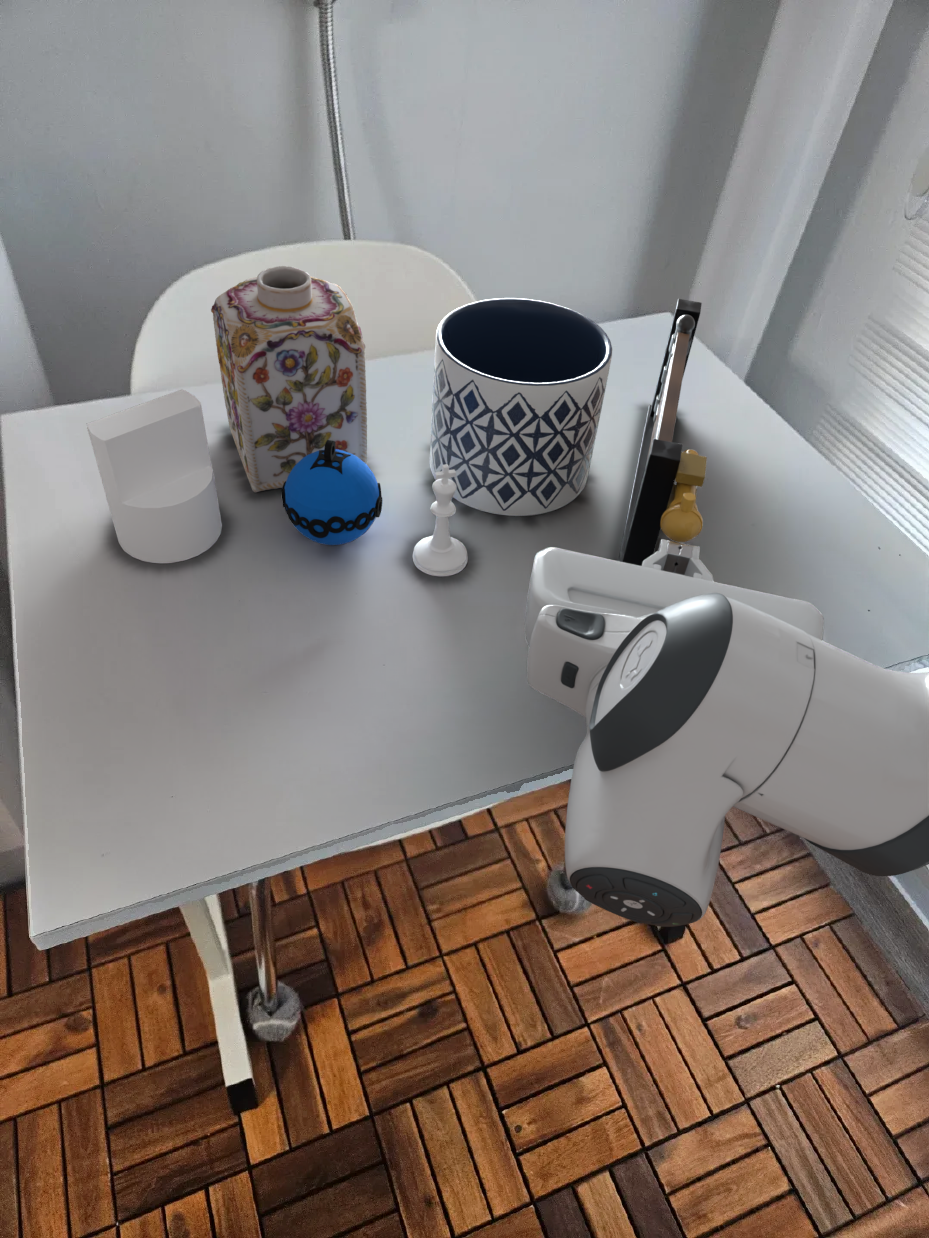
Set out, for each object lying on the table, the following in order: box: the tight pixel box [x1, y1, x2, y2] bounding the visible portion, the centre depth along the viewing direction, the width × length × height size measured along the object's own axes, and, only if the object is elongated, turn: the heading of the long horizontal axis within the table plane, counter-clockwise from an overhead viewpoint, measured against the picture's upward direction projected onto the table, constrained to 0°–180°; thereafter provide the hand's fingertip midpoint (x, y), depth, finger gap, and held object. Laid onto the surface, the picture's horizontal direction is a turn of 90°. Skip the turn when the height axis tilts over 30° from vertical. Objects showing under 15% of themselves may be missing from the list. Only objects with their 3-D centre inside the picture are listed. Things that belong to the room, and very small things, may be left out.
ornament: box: [280, 440, 383, 546], centre depth 77 cm, size 9×9×10 cm
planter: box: [429, 297, 613, 517], centre depth 84 cm, size 16×16×14 cm
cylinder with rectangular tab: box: [85, 388, 223, 564], centre depth 75 cm, size 9×9×12 cm
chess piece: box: [412, 464, 469, 577], centre depth 76 cm, size 5×5×10 cm
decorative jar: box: [210, 265, 368, 493], centre depth 83 cm, size 12×12×18 cm
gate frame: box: [617, 298, 708, 566], centre depth 84 cm, size 29×5×13 cm, turn 166°
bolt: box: [660, 448, 704, 543], centre depth 71 cm, size 11×3×4 cm, turn 166°
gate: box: [646, 315, 695, 464], centre depth 84 cm, size 23×2×12 cm, turn 165°
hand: (678, 549), depth 67 cm, fingers closed
